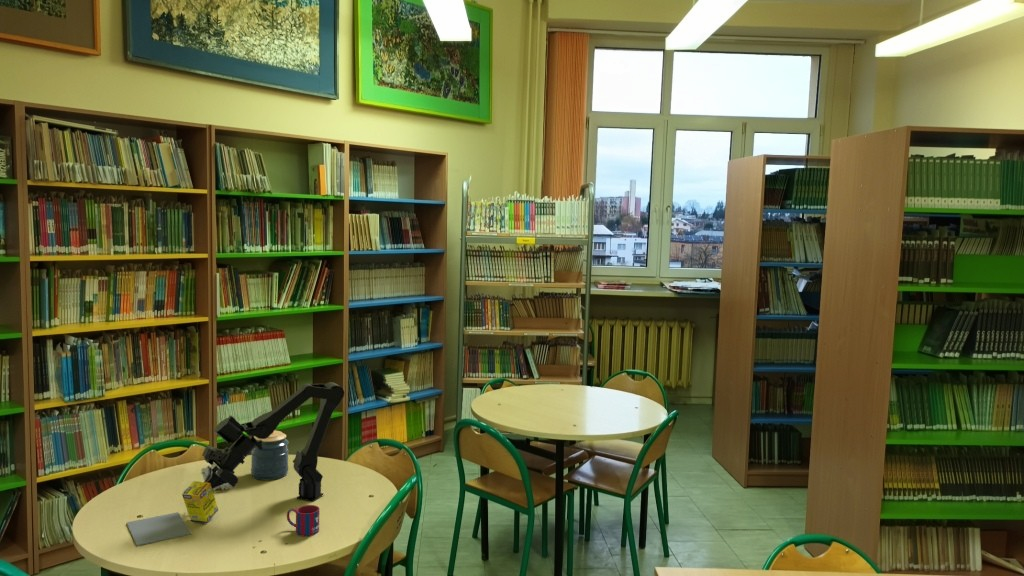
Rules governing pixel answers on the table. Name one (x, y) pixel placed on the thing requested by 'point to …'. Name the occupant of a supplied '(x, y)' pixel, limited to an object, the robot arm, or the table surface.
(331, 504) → the table surface
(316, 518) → the mug
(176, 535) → the mat
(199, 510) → the supplement box
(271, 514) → the table surface
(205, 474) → the skull
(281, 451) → the canister
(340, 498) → the table surface
